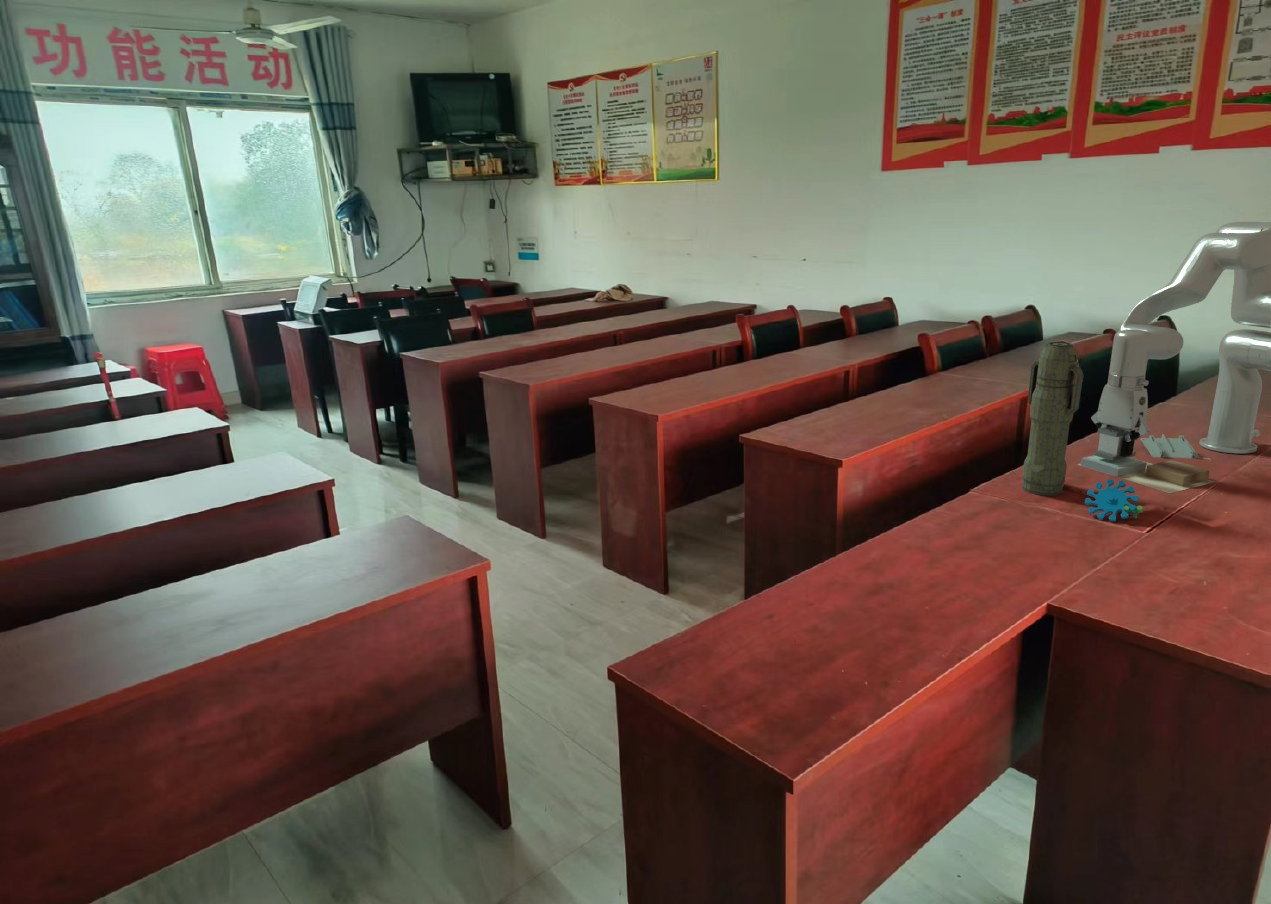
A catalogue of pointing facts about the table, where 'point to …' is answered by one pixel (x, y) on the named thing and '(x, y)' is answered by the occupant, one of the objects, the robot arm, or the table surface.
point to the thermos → (1051, 417)
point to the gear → (1113, 501)
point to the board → (1157, 481)
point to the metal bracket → (1169, 447)
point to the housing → (1111, 443)
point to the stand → (1177, 473)
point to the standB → (1114, 465)
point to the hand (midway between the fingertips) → (1115, 451)
